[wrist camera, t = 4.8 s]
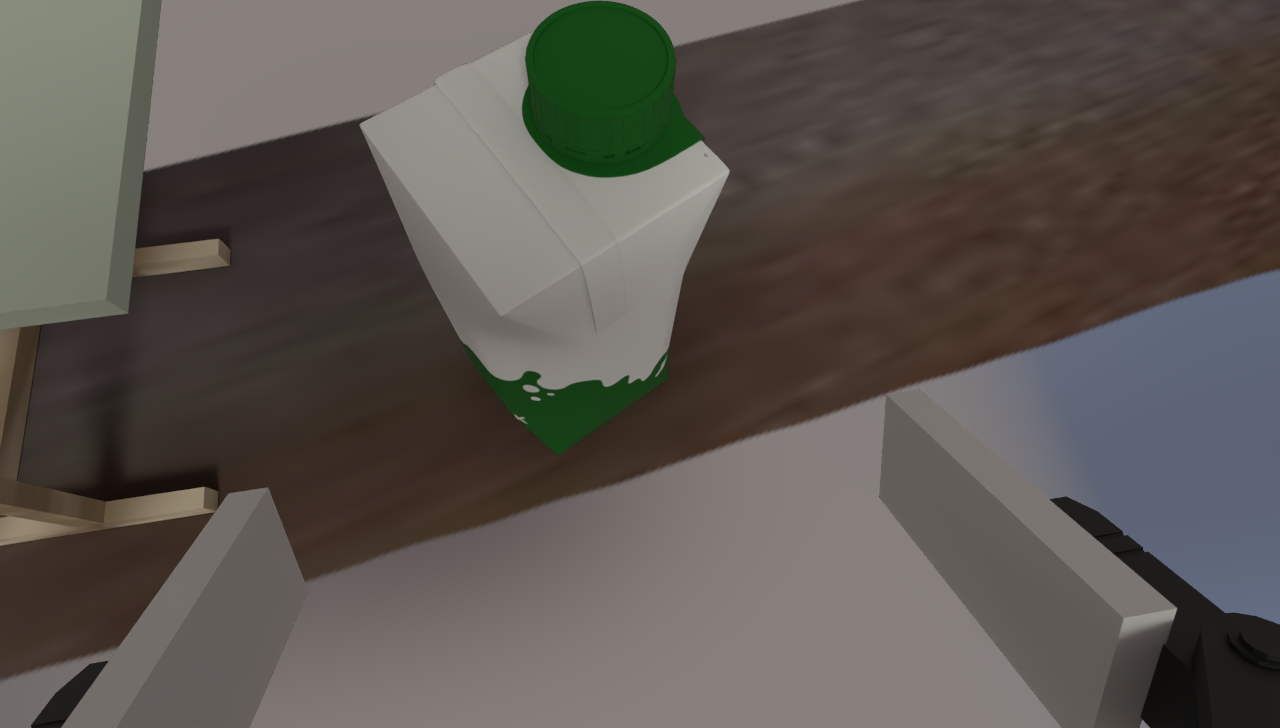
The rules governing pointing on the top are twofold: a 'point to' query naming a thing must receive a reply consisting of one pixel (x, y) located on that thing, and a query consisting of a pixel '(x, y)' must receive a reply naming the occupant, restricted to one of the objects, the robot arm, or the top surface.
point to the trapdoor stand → (3, 398)
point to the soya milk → (556, 211)
